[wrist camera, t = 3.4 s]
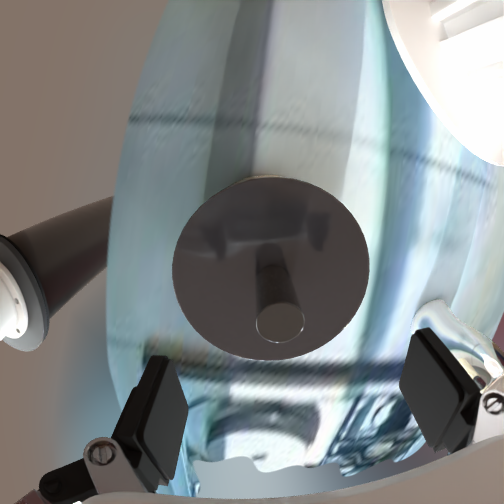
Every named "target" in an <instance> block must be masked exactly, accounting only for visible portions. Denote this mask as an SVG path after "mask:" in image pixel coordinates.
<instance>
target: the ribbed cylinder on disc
mask: <svg viewBox="0 0 504 504" xmlns="http://www.w3.org/2000/svg"><path fill="white" fill-rule="evenodd" d="M382 3H383V8H384V13H385V17H386V21H387V24H388V27H389V30H390V32H391V35H392V38H393V40H394V43H395V45H396V47H397V50H398V52H399V54H400V56H401V58H402V60H403V62H404V64H405V66H406V68H407V70H408V71H409V73H410V75H411V77H412V78H413V80H414V82H415V83H416V85H417V87H418V88H419V90H420V92H421V93H422V95H423V96H424V98H425V99H426V101H427V102H428V104H429V105H430V106H431V108H432V109H433V111H434V112H435V113H436V115H437V116H438V117H439V119H440V120H441V121H442V122H443V124H444V125H445V126H446V127H447V128H448V130H449V131H450V132H451V133H452V134H453V135H454V136H455V137H456V138H457V139H458V140H459V141H460V142H461V143H462V144H463V145H464V146H465V147H466V148H467V149H469V150H470V151H471V152H472V153H474V154H475V155H477V156H478V157H480V158H481V159H483V160H485V161H487V162H489V163H491V164H494V165H498V166H504V0H382Z"/></svg>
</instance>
